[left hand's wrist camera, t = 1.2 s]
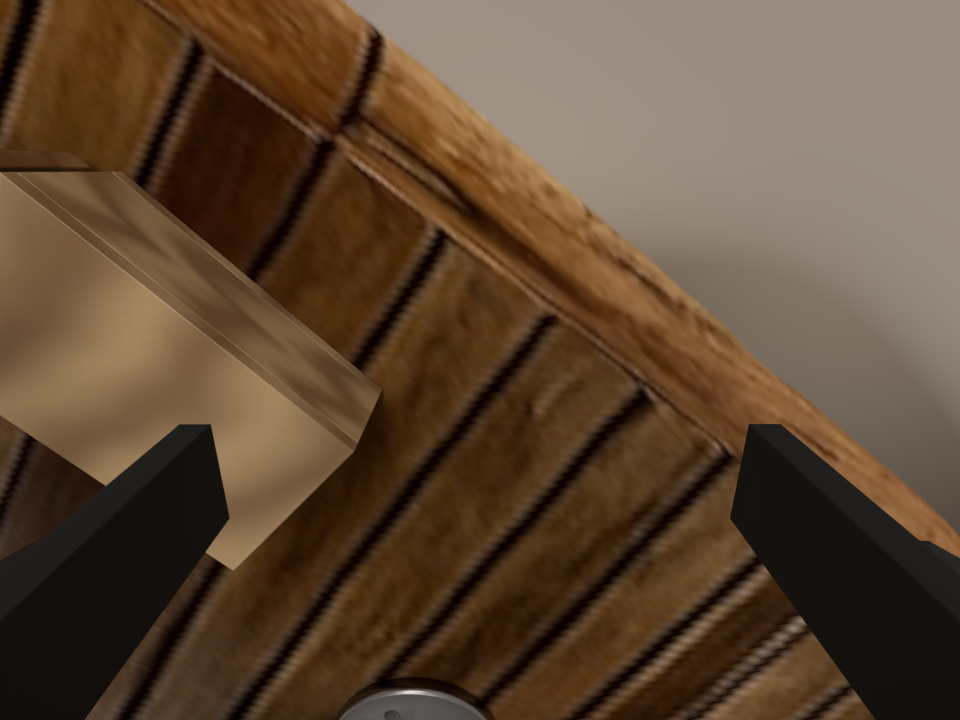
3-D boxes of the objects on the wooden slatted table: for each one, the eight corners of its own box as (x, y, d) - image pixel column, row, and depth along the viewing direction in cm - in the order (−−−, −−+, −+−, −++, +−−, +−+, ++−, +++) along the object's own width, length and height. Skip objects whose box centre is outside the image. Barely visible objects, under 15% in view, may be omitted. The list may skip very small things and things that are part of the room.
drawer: (-99, 212, 31) (-241, 222, 25) (-22, 74, 28) (-159, 47, 22) (246, 464, 37) (199, 522, 31) (335, 369, 34) (304, 411, 28)
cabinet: (31, 303, 34) (-107, 345, 26) (122, 171, 31) (-2, 171, 23) (284, 489, 39) (233, 571, 31) (382, 389, 36) (354, 451, 28)
